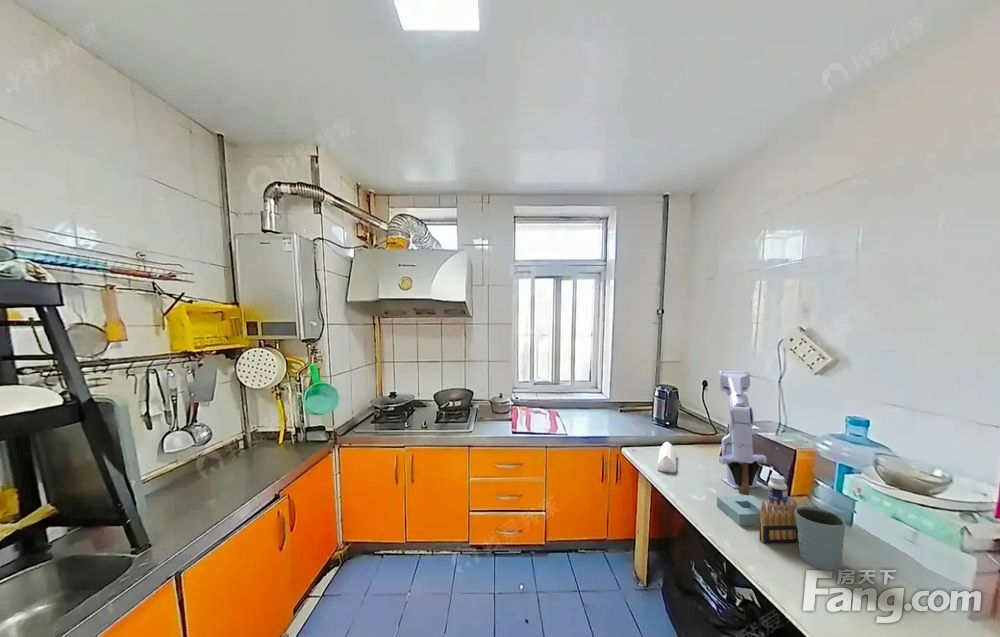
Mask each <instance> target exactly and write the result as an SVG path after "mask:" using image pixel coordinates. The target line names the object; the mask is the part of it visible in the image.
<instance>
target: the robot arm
mask: <svg viewBox="0 0 1000 637" xmlns="http://www.w3.org/2000/svg"><path fill="white" fill-rule="evenodd" d="M718 376H719V377H718V378H719V388H720V390H721V391H723V392H725V393H726V396H727V406H728V408H727V409H728V430H729V433H728V434H726V435H725V436H723V437H722V438H721V455H720V456H718V462H719V464H721V465H725V466H726V478H721V480H722V481H723V482H724V483H726V484H727V485H729V486H730V487H732V488H733V489H738V486H741V484H742V480H741V476H742V470H743V467H741V466H740V464H739V463H747V464H748V471H749V489H750V488H759V485H758V481H757V480H758V479H757V477H758V476H757V473H758V471H759V470H760V468H761V466H760V464H758V463H763V464H767V462H768V461H767V459H768V458H767V456H766V455H764V454H754V453H753V452H754V451H753V448H754V447H753V446H754V445H753V425H754V421H755V420H754V411H753V408H752V406H751V405H750V402H749V398H748V396H747V394H745V393H746V392H748V391H749V389H750V386H751V375H750V372H749V371H747V370H743V371H742V370H722V369H720V370H719V372H718Z"/></svg>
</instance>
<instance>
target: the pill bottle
mask: <svg viewBox="0 0 1000 637" xmlns="http://www.w3.org/2000/svg"><path fill="white" fill-rule="evenodd" d="M767 489H768V490H767V494H768V501H769V500H770V501H771V504H772V507H774V501H775V500H776V501H777V503H778V509H780V502H781V500H782V501H783V503H784V507H785V509H786V503H787V500H789V496H788V485H787V484H786V483H785V477H784V476H782V475H780V474H777V473H776V474H774V473H773V474H770V476H769V480H768V482H767Z"/></svg>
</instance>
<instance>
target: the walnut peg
mask: <svg viewBox="0 0 1000 637" xmlns="http://www.w3.org/2000/svg"><path fill="white" fill-rule="evenodd" d="M739 464H740V466H741V467H743V470H742V476H741V480H742V484H741V486H738V488H737V489H738V494H740V495H741V496H749V495H750V488H749V471H748V464H747V463H739Z"/></svg>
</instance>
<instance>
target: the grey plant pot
mask: <svg viewBox="0 0 1000 637" xmlns="http://www.w3.org/2000/svg"><path fill="white" fill-rule="evenodd" d="M795 516H796V524H797V529H798V540H799V544H798V550H799V551H798V552H799V557H800V559H801V560H802V561H803V563H805V564H807V565H808V566H810V567H813V568H815V569H817V570H821V571H825V572H840V571H841V570H842V567H843V559H844V558H843V557H844V555H843V551H844V542H845V541H844V538H845V529H846V521H845V520H844V518H843V517H841V516H839V515H838V514H836V513H834V512H832V511H829V510H826V509H821V508H818V507H811V506H800V507H799V506H797V508H796V509H795ZM839 570H840V571H839Z"/></svg>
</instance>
